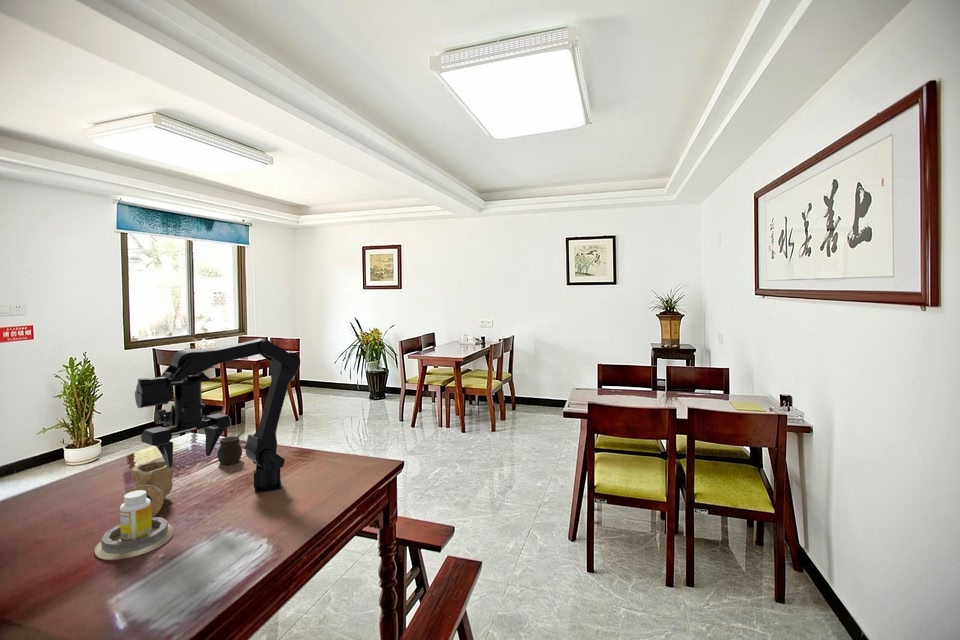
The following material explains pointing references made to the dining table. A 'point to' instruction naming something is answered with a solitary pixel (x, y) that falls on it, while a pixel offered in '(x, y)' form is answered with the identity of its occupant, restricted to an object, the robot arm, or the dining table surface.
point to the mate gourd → (229, 450)
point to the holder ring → (133, 541)
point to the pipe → (153, 482)
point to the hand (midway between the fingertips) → (189, 461)
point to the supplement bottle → (135, 516)
